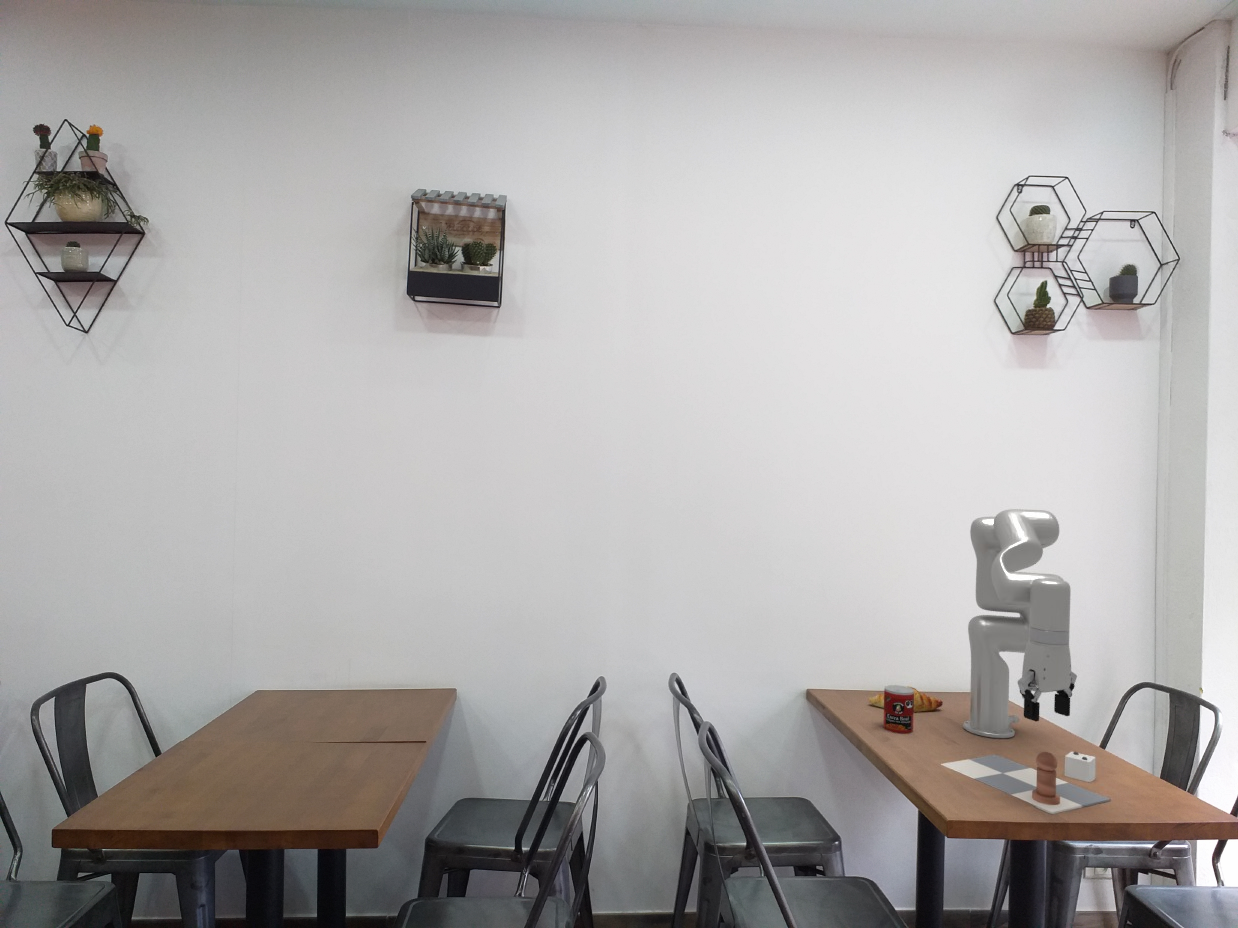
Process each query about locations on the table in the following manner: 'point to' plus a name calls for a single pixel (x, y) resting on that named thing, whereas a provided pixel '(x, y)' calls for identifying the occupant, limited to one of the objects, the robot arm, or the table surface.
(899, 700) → the canned food
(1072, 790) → the board
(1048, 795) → the pawn
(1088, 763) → the die
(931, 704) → the croissant
